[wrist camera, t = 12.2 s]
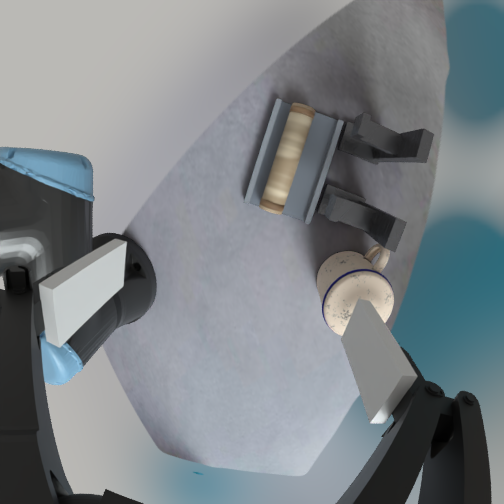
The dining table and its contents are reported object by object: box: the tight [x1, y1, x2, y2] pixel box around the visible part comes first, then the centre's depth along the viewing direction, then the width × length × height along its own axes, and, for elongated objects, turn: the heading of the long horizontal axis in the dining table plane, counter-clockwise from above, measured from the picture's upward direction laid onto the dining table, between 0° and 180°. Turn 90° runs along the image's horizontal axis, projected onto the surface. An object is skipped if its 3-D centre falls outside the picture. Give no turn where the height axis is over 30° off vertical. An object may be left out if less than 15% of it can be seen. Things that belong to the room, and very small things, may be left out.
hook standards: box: [317, 112, 434, 252], centre depth 30 cm, size 6×13×14 cm, turn 163°
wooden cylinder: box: [259, 103, 315, 215], centre depth 34 cm, size 14×3×3 cm, turn 163°
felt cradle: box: [244, 99, 344, 224], centre depth 36 cm, size 9×14×2 cm, turn 163°
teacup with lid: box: [317, 244, 394, 336], centre depth 35 cm, size 12×9×12 cm
